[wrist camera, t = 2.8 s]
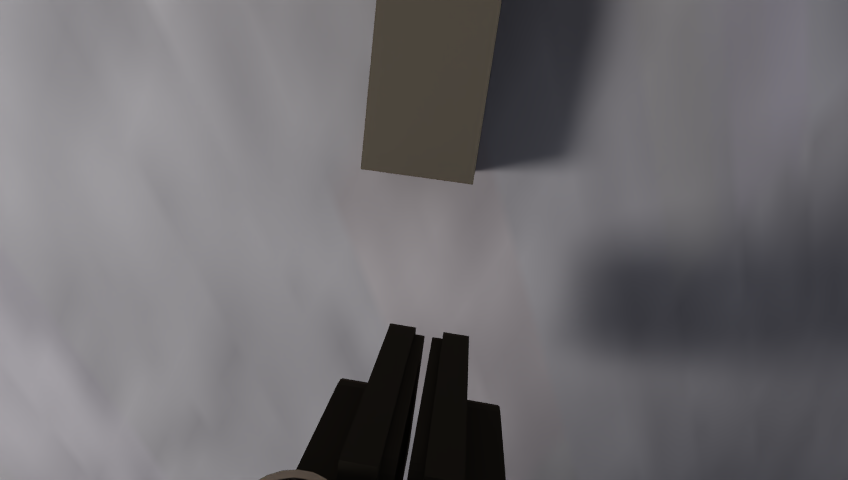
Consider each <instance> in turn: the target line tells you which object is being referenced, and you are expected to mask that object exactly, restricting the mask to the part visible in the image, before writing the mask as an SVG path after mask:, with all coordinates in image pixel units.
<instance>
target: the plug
mask: <svg viewBox="0 0 848 480" xmlns="http://www.w3.org/2000/svg"><path fill="white" fill-rule="evenodd" d="M501 2H502V0H377V1H376V12H375V23H374V33H373V44H372V55H371V65H370V76H369V87H368V97H367V108H366V119H365V130H364V140H363V151H362V162H361V169H365V170H372V171H379V172H386V173H393V174H401V175H408V176H415V177H422V178H429V179H437V180H444V181H451V182H458V183H465V184H473V180H474V173H475V167H476V161H477V154H478V148H479V142H480V135H481V129H482V122H483V116H484V110H485V103H486V97H487V91H488V84H489V78H490V72H491V65H492V59H493V53H494V46H495V40H496V33H497V27H498V21H499V14H500V8H501Z"/></svg>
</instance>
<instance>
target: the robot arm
mask: <svg viewBox="0 0 848 480" xmlns="http://www.w3.org/2000/svg"><path fill="white" fill-rule="evenodd" d="M415 332H416V328H415V327H409V326H403V325H397V324H390V326H389V329H388V331H387V334H386V336H385V339H384V342H383V344H382V347H381V350H380V352H379V355H378V358H377V360H376V363H375V365H374V368H373V371H372V373H371V376H370V379H369V381H368V383H367V382H361V381H355V380H349V379H343V378H342V379H340V381H339V383H338V384H337V386H336V388H335V390H334V393H333V395H332V397H331V399H330V401H329V403H328V405H327V407H326V409H325V411H324V413H323V415H322V417H321V419H320V422H319V424H318V426H317V428H316V430H315V432H314V434H313V436H312V438H311V440H310V442H309V444H308V446H307V448H306V450H305V453H304V455H303V457H302V459H301V461H300V463H299V465H298V467H297V469H296V470H283V471H279V472H276V473H273V474H269V475H266V476H265V477H263V478H261V479H259V480H403V476H404V471H405V466H406V461H407V455H408V449H409V443H410V436H411V429H412V422H413V415H414V408H415V401H416V394H417V387H418V380H419V373H420V366H421V358H422V351H423V344H424V336H422V335H416V334H415ZM468 350H469V336H464V335H458V334H452V333H445V332H443V339H440V338H434V337H433V338H432V343H431V349H430V354H429V360H428V365H427V371H426V376H425V382H424V387H423V393H422V399H421V404H420V410H419V415H418V421H417V426H416V432H415V438H414V443H413V449H412V454H411V460H410V466H409V472H408V478H407V480H506V478H505V465H504V453H503V440H502V428H501V415H500V407H499V406H498V405H494V404H488V403H482V402H477V401H471V400H467V387H468Z"/></svg>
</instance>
